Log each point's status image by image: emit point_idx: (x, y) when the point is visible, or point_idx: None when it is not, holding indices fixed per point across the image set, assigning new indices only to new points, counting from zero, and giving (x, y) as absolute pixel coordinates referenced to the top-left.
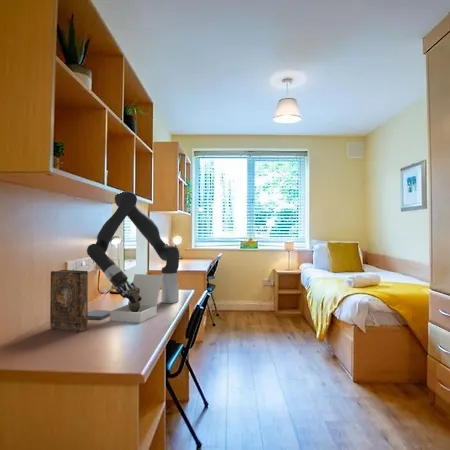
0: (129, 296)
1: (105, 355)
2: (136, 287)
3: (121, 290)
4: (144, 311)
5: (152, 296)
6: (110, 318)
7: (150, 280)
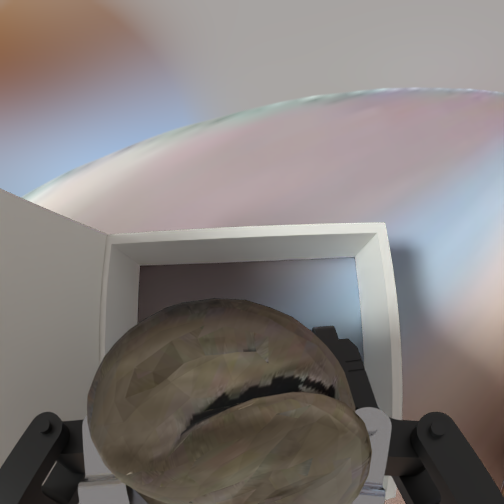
0: (377, 405)
1: None
2: (113, 428)
3: (492, 499)
4: (322, 225)
5: (29, 266)
6: None
7: None
